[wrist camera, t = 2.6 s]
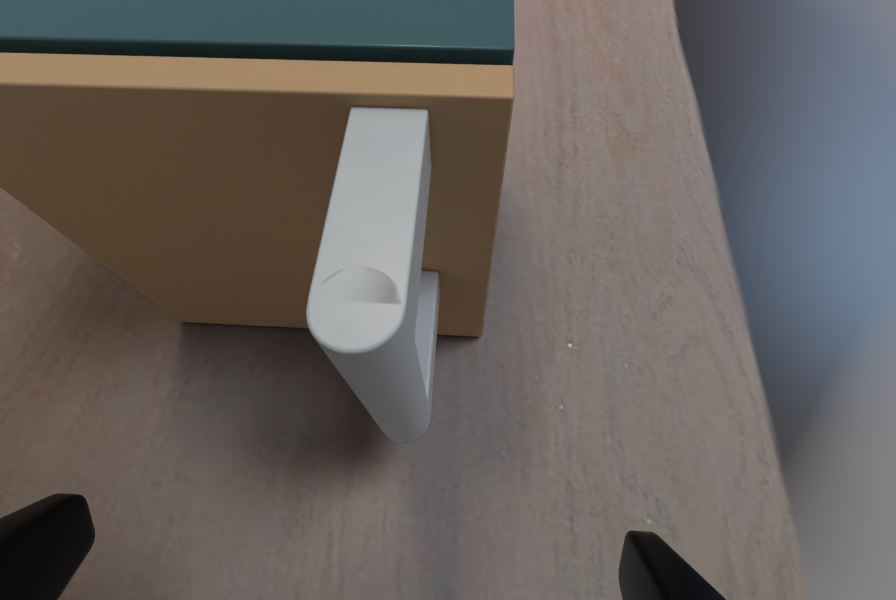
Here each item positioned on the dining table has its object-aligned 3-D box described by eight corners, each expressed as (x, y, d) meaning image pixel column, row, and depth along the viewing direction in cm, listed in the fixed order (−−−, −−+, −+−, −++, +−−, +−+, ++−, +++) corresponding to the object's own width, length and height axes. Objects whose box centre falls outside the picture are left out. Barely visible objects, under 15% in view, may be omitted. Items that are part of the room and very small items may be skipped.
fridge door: (478, 465, 17) (517, 355, 6) (135, 444, 18) (-371, 309, 7) (482, 316, 20) (513, 64, 9) (186, 302, 21) (-116, 48, 10)
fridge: (482, 312, 20) (514, 49, 9) (189, 299, 21) (-117, 34, 10) (486, 149, 25) (512, -161, 14) (245, 141, 26) (80, -164, 14)
